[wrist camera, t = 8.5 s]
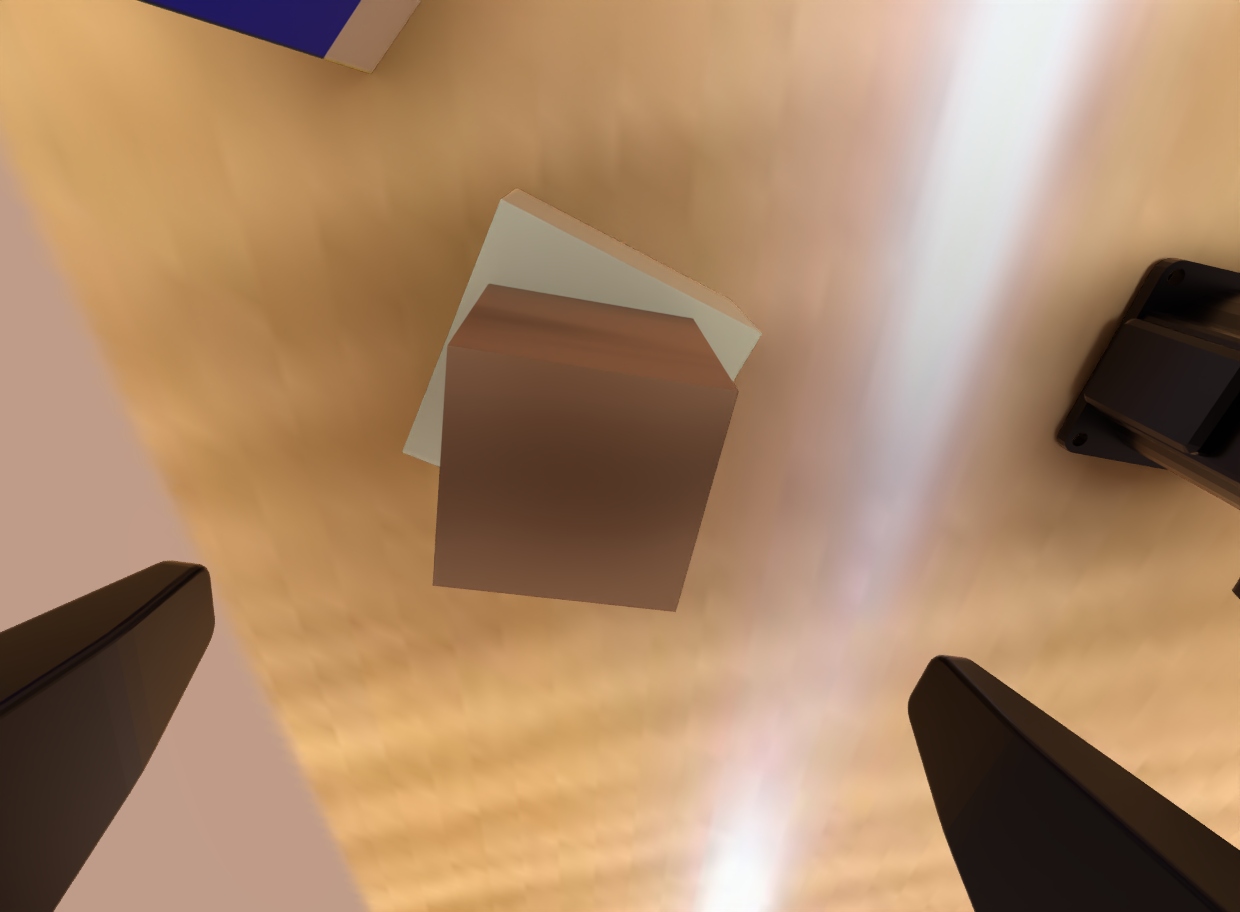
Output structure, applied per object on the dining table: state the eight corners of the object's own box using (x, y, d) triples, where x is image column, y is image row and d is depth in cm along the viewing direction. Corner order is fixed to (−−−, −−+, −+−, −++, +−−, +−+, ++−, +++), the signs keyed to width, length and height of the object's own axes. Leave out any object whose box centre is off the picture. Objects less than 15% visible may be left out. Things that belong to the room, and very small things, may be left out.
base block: (728, 297, 19) (762, 333, 16) (625, 477, 22) (634, 542, 18) (517, 187, 17) (500, 199, 14) (434, 397, 20) (401, 452, 16)
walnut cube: (651, 492, 17) (675, 612, 13) (472, 467, 17) (432, 585, 12) (693, 318, 15) (738, 391, 11) (488, 283, 15) (447, 345, 10)
